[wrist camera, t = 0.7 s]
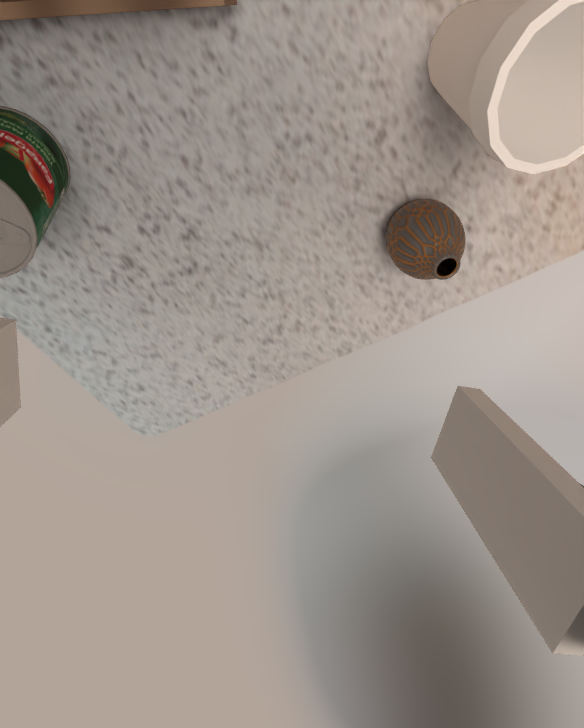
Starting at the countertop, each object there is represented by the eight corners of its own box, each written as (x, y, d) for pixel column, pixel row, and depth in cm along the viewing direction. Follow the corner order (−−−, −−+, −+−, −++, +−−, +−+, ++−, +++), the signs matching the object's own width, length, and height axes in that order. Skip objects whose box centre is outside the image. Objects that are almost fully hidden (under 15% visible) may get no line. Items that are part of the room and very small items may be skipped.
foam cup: (466, 138, 39) (552, 196, 30) (385, 86, 35) (455, 134, 26) (549, 17, 34) (685, 42, 24) (465, -60, 30) (589, -66, 20)
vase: (446, 240, 46) (485, 285, 40) (383, 262, 47) (413, 311, 40) (442, 177, 41) (486, 218, 35) (372, 204, 42) (404, 248, 35)
